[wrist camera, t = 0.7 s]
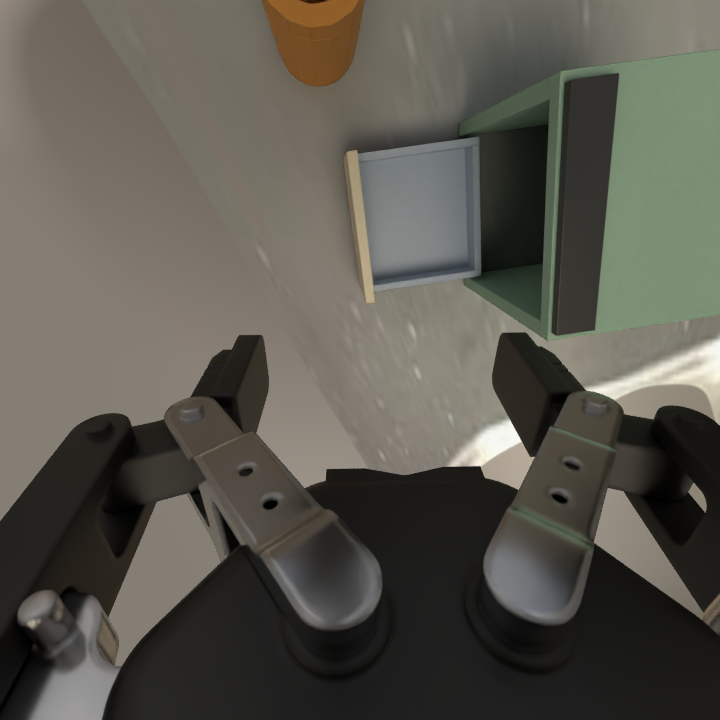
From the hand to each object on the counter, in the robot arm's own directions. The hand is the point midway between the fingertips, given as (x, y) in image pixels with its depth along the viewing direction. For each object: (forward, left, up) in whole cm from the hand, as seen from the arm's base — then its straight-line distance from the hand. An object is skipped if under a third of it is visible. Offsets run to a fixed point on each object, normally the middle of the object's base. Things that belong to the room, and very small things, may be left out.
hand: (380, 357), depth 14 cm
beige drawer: (-2, +6, -26) cm, 27 cm away
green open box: (-2, +17, -26) cm, 31 cm away
